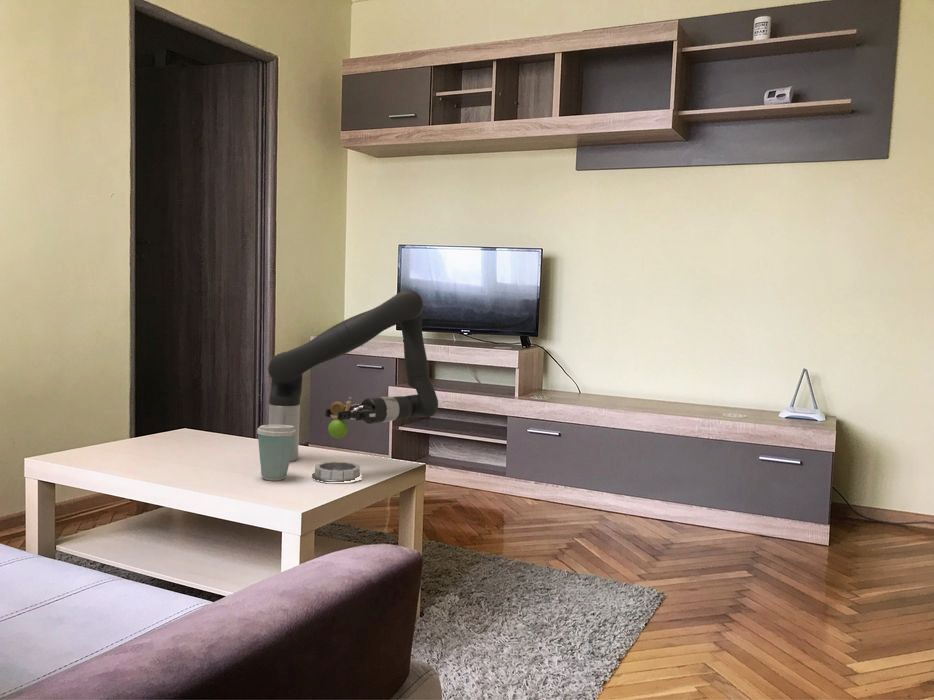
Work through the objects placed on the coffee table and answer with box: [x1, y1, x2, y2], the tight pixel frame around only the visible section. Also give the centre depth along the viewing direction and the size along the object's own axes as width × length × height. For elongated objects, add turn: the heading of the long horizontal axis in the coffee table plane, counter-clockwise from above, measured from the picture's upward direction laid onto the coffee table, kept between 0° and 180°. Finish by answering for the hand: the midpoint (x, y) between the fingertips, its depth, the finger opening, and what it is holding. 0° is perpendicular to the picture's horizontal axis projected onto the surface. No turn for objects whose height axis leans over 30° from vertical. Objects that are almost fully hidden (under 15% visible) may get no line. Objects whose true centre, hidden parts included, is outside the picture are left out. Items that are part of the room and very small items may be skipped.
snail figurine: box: [327, 396, 353, 439], centre depth 210 cm, size 5×6×12 cm
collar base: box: [311, 461, 361, 482], centre depth 212 cm, size 14×14×3 cm
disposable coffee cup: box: [256, 424, 296, 481], centre depth 207 cm, size 11×11×15 cm
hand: (332, 414), depth 209 cm, fingers closed on snail figurine, 5 cm apart
